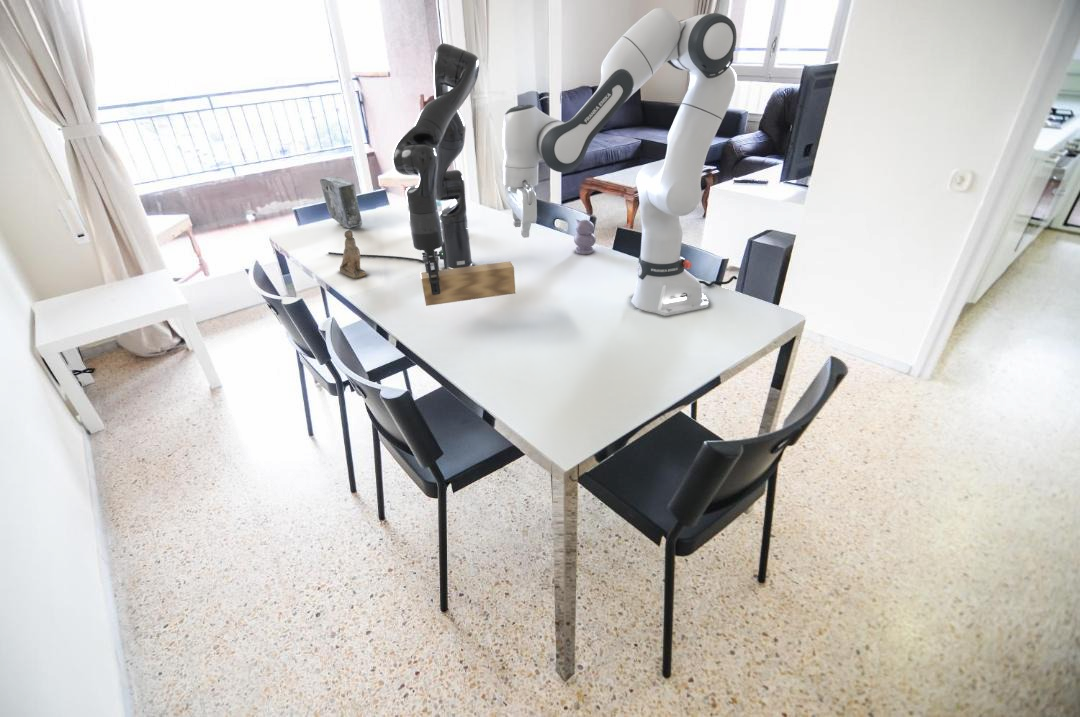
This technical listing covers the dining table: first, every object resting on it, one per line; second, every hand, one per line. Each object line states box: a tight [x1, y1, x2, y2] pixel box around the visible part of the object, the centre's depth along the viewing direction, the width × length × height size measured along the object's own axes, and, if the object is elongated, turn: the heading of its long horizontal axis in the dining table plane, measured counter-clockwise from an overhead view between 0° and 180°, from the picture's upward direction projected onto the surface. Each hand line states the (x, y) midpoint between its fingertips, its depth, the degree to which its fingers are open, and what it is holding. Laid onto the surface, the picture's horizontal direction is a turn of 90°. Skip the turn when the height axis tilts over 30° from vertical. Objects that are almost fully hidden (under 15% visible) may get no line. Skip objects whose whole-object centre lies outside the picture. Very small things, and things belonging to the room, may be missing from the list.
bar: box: [420, 261, 516, 307], centre depth 136 cm, size 25×4×8 cm, turn 105°
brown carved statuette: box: [339, 229, 367, 280], centre depth 174 cm, size 12×6×18 cm, turn 43°
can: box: [436, 200, 445, 225], centre depth 220 cm, size 7×7×12 cm
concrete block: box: [319, 175, 363, 229], centre depth 226 cm, size 27×9×20 cm, turn 36°
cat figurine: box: [573, 218, 597, 255], centre depth 187 cm, size 8×8×12 cm
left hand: (435, 290), depth 135 cm, fingers closed on bar, 4 cm apart
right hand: (521, 231), depth 132 cm, fingers open, 8 cm apart
